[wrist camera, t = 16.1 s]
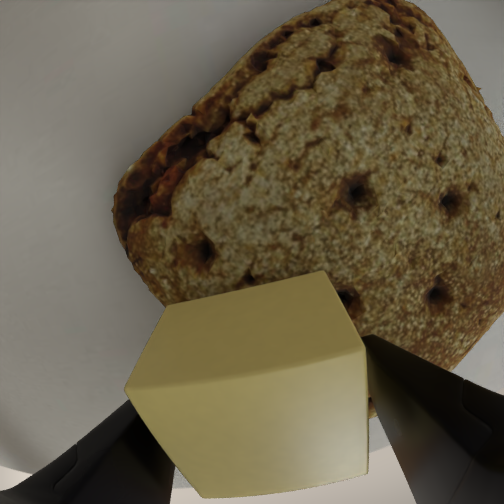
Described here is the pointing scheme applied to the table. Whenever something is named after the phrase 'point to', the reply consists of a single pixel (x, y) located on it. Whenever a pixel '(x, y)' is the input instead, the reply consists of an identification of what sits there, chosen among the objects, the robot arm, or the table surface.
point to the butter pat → (257, 389)
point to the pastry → (334, 180)
